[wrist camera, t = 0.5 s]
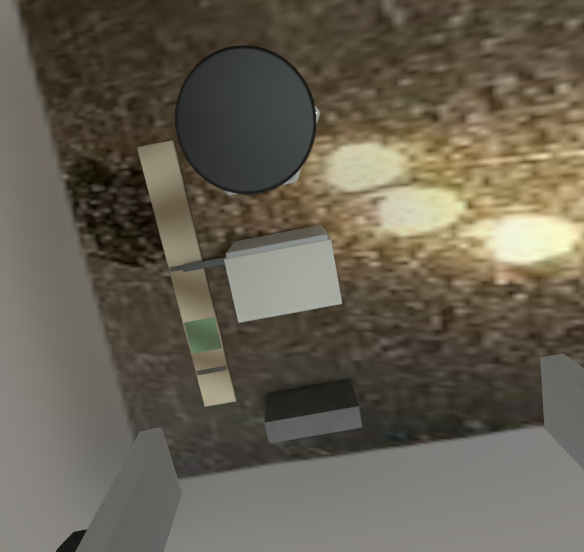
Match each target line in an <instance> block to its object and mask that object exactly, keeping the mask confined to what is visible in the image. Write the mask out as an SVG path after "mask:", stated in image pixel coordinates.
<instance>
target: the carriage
mask: <svg viewBox="0 0 584 552" xmlns="http://www.w3.org/2000/svg"><path fill="white" fill-rule="evenodd" d="M220 265H224V268H225V269H226V270H227V275H228V279H229V283H230V288H231V292H232V296H233V301H234V305H235V309H236V314H237V318H238V322H239V323H240V322H245V321H251V320H256V319H262V318H267V317H273V316H278V315H284V314H289V313H295V312H300V311H305V310H311V309H316V308H322V307H327V306H333V305H338V304H342V301H341V295H340V289H339V283H338V277H337V272H336V266H335V260H334V254H333V248H332V242H331V239H330V237H329V235H328V234H327V232H326V230H325V229H324V228H323V226H322V225H318V226H313V227H307V228H302V229H297V230H292V231H286V232H281V233H276V234H271V235H265V236H260V237H255V238H250V239H244V240H239V241H235V242H234V243H233V244H232V246H231V247H230V248H229V250H228V251H227V253H226V256H225V257H219V258H214V259H209V260H204V261H198V262H193V263H188V264H183V265H182V269H183V272H188V271H193V270H198V269H204V268H209V267H214V266H220Z"/></svg>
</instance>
